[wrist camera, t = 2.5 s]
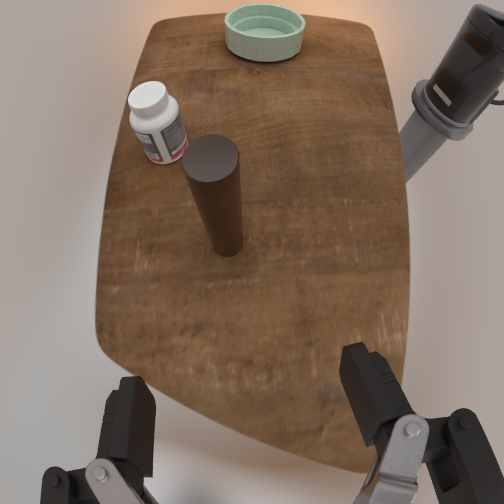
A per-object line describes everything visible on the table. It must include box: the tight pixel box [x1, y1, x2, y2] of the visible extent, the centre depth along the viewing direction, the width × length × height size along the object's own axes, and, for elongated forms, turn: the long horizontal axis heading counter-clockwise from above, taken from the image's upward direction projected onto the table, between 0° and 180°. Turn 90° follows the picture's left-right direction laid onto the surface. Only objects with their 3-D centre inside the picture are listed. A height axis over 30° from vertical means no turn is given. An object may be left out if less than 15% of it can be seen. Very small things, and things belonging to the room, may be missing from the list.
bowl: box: [224, 4, 306, 62], centre depth 37 cm, size 12×12×6 cm
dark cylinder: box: [181, 135, 243, 256], centre depth 23 cm, size 3×3×16 cm
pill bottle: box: [128, 81, 188, 164], centre depth 29 cm, size 5×5×10 cm
